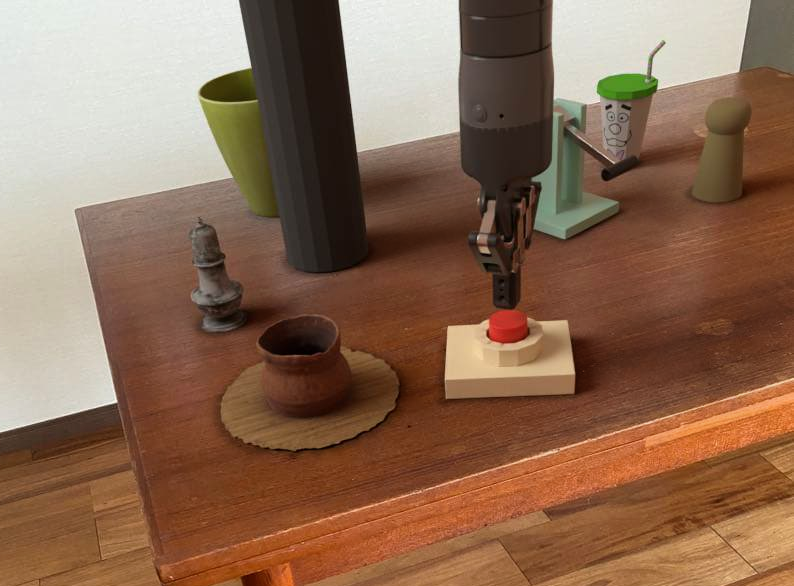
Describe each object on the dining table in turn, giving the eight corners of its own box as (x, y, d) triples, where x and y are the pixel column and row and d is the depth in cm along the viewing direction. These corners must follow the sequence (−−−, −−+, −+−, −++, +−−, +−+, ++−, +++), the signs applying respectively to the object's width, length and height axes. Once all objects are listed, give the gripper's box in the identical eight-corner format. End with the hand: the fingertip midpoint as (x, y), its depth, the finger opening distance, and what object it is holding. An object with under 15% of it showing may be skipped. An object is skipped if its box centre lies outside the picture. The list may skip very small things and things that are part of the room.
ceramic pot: (383, 454, 79) (374, 387, 74) (195, 450, 82) (175, 386, 77) (412, 348, 91) (406, 285, 87) (249, 348, 95) (234, 288, 90)
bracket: (618, 212, 111) (627, 103, 102) (565, 240, 106) (569, 128, 98) (546, 190, 118) (548, 86, 109) (493, 215, 114) (491, 110, 105)
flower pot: (292, 236, 115) (268, 105, 104) (203, 222, 122) (173, 98, 111) (351, 191, 124) (335, 67, 113) (266, 181, 131) (244, 62, 120)
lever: (634, 173, 103) (642, 155, 101) (606, 187, 101) (613, 169, 99) (560, 120, 107) (566, 101, 105) (532, 132, 105) (537, 113, 103)
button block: (566, 339, 90) (568, 303, 87) (574, 394, 83) (576, 356, 80) (448, 344, 91) (446, 309, 89) (446, 399, 84) (443, 362, 81)
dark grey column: (316, 232, 115) (273, -38, 95) (383, 242, 111) (353, -38, 91) (271, 266, 109) (214, -14, 89) (340, 278, 105) (297, -14, 85)
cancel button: (526, 325, 86) (526, 308, 84) (528, 344, 83) (528, 327, 82) (489, 327, 86) (488, 310, 85) (489, 346, 83) (488, 329, 82)
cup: (582, 169, 122) (588, 49, 112) (607, 149, 126) (614, 32, 116) (636, 176, 118) (647, 53, 108) (659, 156, 123) (672, 35, 113)
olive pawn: (733, 205, 109) (748, 110, 102) (684, 198, 112) (696, 106, 104) (748, 186, 112) (764, 94, 105) (701, 180, 115) (713, 90, 108)
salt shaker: (251, 328, 98) (227, 223, 90) (198, 337, 98) (169, 232, 90) (248, 304, 102) (225, 201, 94) (198, 312, 102) (170, 210, 94)
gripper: (525, 139, 65) (523, 346, 77) (574, 83, 74) (566, 277, 85) (431, 134, 68) (443, 335, 80) (489, 80, 76) (492, 269, 88)
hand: (506, 304), depth 82 cm, fingers closed
